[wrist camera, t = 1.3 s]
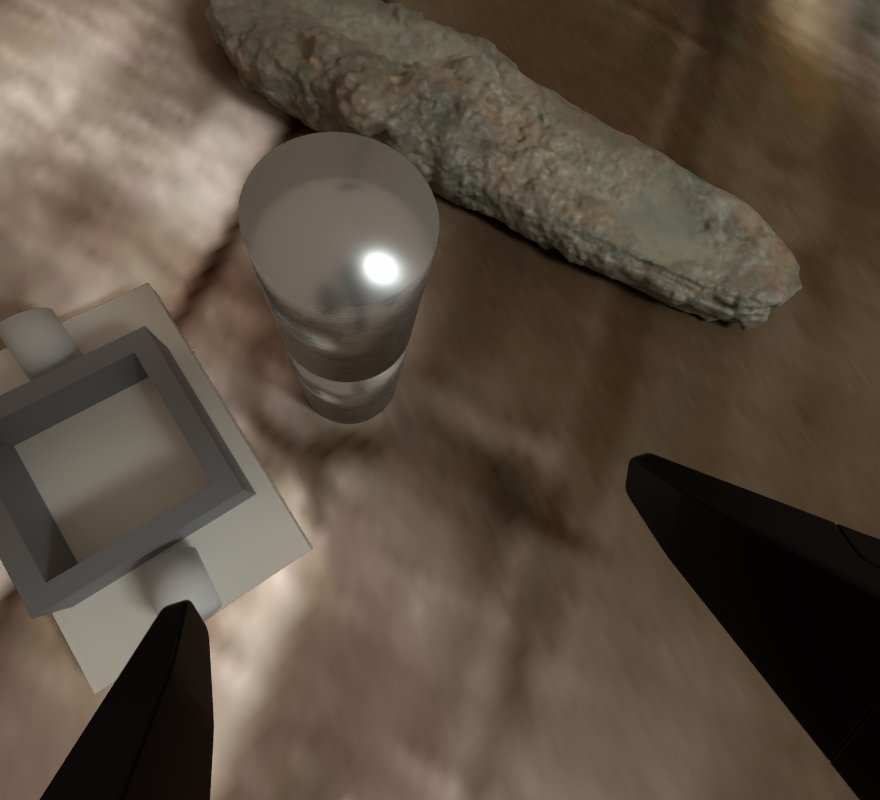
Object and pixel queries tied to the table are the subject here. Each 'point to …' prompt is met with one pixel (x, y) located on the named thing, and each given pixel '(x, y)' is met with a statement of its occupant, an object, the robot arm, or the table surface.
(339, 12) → the elongated rock
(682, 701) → the table surface
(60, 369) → the shaft mount
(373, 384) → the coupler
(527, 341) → the table surface
